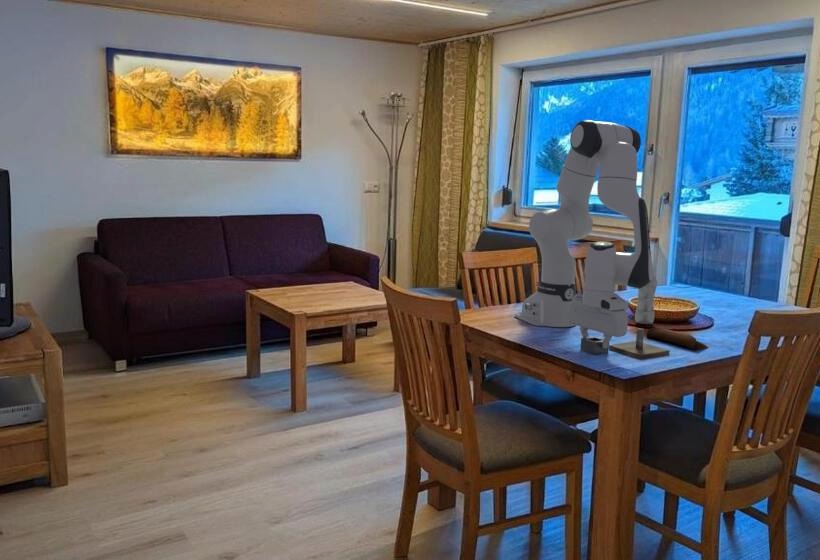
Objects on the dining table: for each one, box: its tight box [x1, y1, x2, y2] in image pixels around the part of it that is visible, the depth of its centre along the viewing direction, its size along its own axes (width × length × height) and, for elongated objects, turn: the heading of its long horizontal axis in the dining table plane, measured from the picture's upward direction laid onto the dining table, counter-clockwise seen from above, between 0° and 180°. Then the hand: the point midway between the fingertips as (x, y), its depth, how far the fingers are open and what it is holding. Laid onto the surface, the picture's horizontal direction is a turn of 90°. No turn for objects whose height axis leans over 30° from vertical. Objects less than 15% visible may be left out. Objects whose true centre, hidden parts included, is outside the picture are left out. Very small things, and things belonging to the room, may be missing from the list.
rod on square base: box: [609, 327, 670, 360], centre depth 210 cm, size 12×12×7 cm
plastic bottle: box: [634, 266, 658, 325], centre depth 246 cm, size 6×7×20 cm
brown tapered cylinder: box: [646, 327, 710, 352], centre depth 222 cm, size 18×7×7 cm
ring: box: [579, 335, 610, 356], centre depth 209 cm, size 6×6×4 cm
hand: (594, 345), depth 209 cm, fingers closed on ring, 6 cm apart
